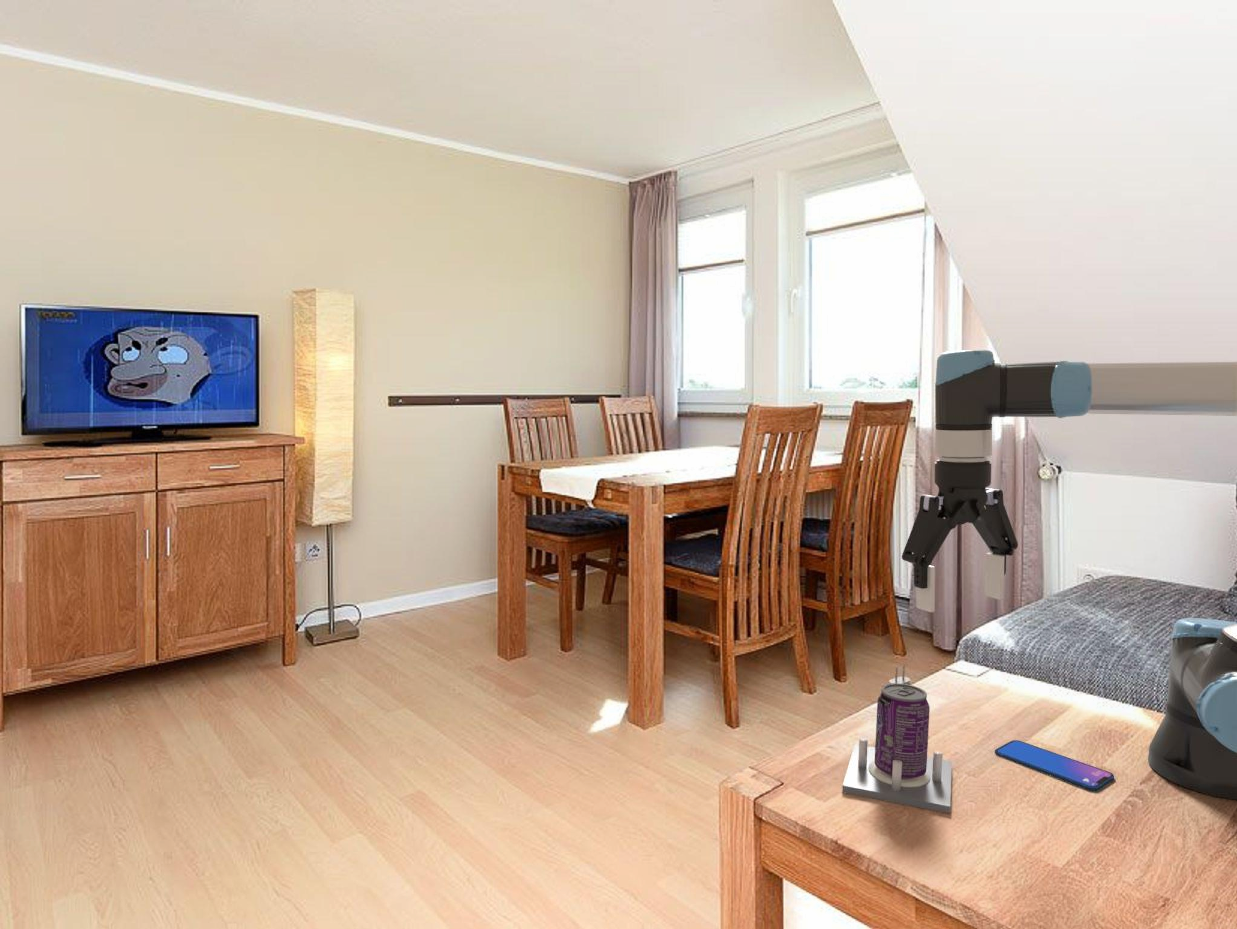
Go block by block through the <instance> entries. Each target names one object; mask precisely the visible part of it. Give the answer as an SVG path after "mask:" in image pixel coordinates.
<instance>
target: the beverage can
mask: <svg viewBox="0 0 1237 929" xmlns="http://www.w3.org/2000/svg"><path fill="white" fill-rule="evenodd" d="M880 692H881V693H880V694H879V696H878V697H877V698H878V699H877V704H876V707H877V708H876V723H875V724H876V725H875V726H876V728H875V742H874V743H875V746H874V747H875V765H876V767H877V768H878V769H880V770H881V771H883V772H884V773H886V774H887V775H889V776H892V770H893V760H900V761H902V774H901V779H912V778H916V777H920V776H922V775H924V774H925V773H926V767H927V757H928V745H929V728H930V727H929V724H930V723H929V722H930V704H929V702H928V699H927V698H928V697H927V696H928V694H927V692H926V691H925V690H924V689H923V688H920V687H918V686H915V685H912V684H910V685H908V684H900V683H892V684H889V683H887V684H884V685H882V686H881V691H880Z"/></svg>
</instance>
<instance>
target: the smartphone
mask: <svg viewBox="0 0 1237 929" xmlns="http://www.w3.org/2000/svg"><path fill="white" fill-rule="evenodd" d="M994 754H995V755H996V756H998V757H1001V758H1003V759H1006V760H1009V761H1011V762H1014V763H1016V764H1019V765H1021V766H1024V767H1026V768H1028V769H1032V770H1034V769H1035V770H1034V771H1037V772H1039V771H1040V773H1042V772H1043V773H1042V774H1044V773H1045V775H1047V774H1048V775H1047V776H1050V775H1051V776H1050V777H1052V778H1055V779H1057V778H1058V780H1060V781H1062V782H1063V781H1064V782H1066V783H1068V784H1071V785H1072V786H1075V787H1078V788H1081V789H1083V790H1086V791H1090V792H1099V791H1101V790H1102V789H1103V788H1105V787H1106V786H1107V785H1109V784H1110V783H1112V782H1113V781H1115V774H1114V773H1112V772H1110V771H1108V770H1105V769H1102V768H1099V767H1097V766H1094V765H1091V764H1088V763H1084V762H1083V761H1079V760H1076V759H1074V758H1071V757H1068V756H1065V755H1062V754H1059V753H1056V752H1053V751H1050V750H1047V749H1044V748H1042V747H1039V746H1036V745H1034V744H1031V743H1027V742H1025V741H1021V740H1019V739H1018V740H1017V739H1013V740H1010V741H1008V742H1006V743H1005V744H1003V745H1000V746H999V747H997V748H995V749H994Z"/></svg>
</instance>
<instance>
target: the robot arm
mask: <svg viewBox="0 0 1237 929" xmlns="http://www.w3.org/2000/svg"><path fill="white" fill-rule="evenodd" d="M935 371H936V372H935V383H934V387H935V388H934V392H935V393H934V394H935V396H934V397H935V400H934V401H935V404H934V406H935V407H934V408H935V413H934V414H935V419H934V420H935V421H934V423H935V429H934V430H935V434H934V435H935V436H934V442H935V443H934V446H935V447H934V455H935V456H936V457H937V458H939V459H937V460H936V461H935V462H934V484H935V485H936V486H937V487H938V493H937V495H936V496H935V495H929V494H921V496H920V499H919V508H918V512H917V513H916V514H917V515H916V517H915V520H914V523H913V524H912V528H911V531H910V533H909V536H908V538H907V541H906V544H905V547H904V549H903V552H902V554H901V559H902V560H903V561H905V562H908V563H910V564H913V565H912V566H913V586H914V587H915V589H916V590H915V591H916V596H915V597H916V598H915V600H916V603H915V604H916V605H915V606H916V607H915V608H917V609H919V610H922V611H925V612H929V613H935V610H936V609H935V606H936V604H935V603H936V601H935V599H936V596H935V595H936V594H935V593H936V591H935V590H936V588H935V587H936V586H935V585H936V583H935V582H936V566H934V565H931V564H932V562H933V560H934V559H935V557H936V556H937V554H938V552H939V550H940V548H942V545H943V544H944V542H945V540H946V539H947V537H948V535H949V534H950V532H951V530H953V529H955V528H956V527H957V526H958V525H964V524H966V523H969V524H972V525H973V527H974V528H975V530H976V531H977V533H978V534H979V536H980V537H981V539H982V541H983V542H984V543H985V544H986V546H987V548H988V550H989V551H990V552H985V575H984V576H985V579H984V580H985V582H984V596H985V597H989V598H992V599H996V600H999V601H1000V600H1004V597H1005V595H1004V594H1005V593H1004V592H1005V590H1004V589H1005V575H1006V573H1007V556H1008V557H1009V556H1010V557H1011V556H1013V555H1014V551H1015V550H1016V549H1017V548H1018V545H1019V544H1018V540H1017V538H1016V534H1015V532H1014V530H1013V527H1012V524H1011V521H1010V517H1009V516H1008V513H1007V510H1006V507H1005V502H1004V492H1003V490H1002V489H998V488H992V487H991V488H990V486H991V484H992V462H990V460H988V458H990V457H991V456H993V418H1006V417H1008V418H1009V417H1011V418H1058V419H1062V418H1067V417H1068V418H1069V417H1083V416H1086V415H1087V414H1088V415H1089V414H1090V415H1143V416H1144V415H1145V416H1146V415H1151V416H1155V415H1157V416H1163V415H1164V416H1207V417H1209V416H1213V417H1217V416H1218V417H1219V416H1220V417H1222V416H1223V417H1224V416H1225V417H1237V361H1194V362H1193V361H1187V362H1186V361H1183V362H1181V361H1180V362H1179V361H1178V362H1177V361H1176V362H1174V361H1173V362H1171V361H1170V362H1167V361H1166V362H1095V363H1094V362H1092V363H1091V362H1089V363H1087V362H1085V361H1067V360H1060V361H1045V362H1044V361H1043V362H1042V361H1041V362H1039V361H1038V362H1025V363H1024V362H1023V363H1021V362H1020V363H999V362H997V363H995V359H994V354H993V352H992V351H991V350H988V349H979V350H977V349H976V350H952V351H951V350H950V351H944V352H942V353H941V354H940V355H939V356H938V357H937V359H936V370H935ZM988 487H989V488H988ZM1170 641H1171V648H1170V660H1169V672H1168V683H1167V684H1168V685H1167V696H1166V697H1167V698H1166V709H1165V710H1166V711H1165V715H1164V717H1163V719H1162V721H1161V722H1160V725H1159V727H1158V728H1157V730H1156V732H1155V733H1154V736H1153V738H1152V740H1151V741H1150V743H1149V746H1148V756H1147V762H1148V764H1149V766H1150V767H1151V769H1152V770H1154V771H1155V772H1156V773H1157V774H1159V775H1160V776H1161V777H1163V778H1165V779H1167V780H1169V781H1170V782H1172V783H1175V784H1177V785H1180V786H1182V787H1184V788H1187V789H1189V790H1192V791H1195V792H1199V793H1201V794H1204V795H1205V794H1206V795H1210V796H1213V797H1217V798H1218V797H1219V798H1223V799H1230V800H1237V621H1236V622H1235V621H1229V620H1223V619H1222V620H1221V619H1214V618H1213V619H1212V618H1211V619H1210V618H1200V617H1198V618H1197V617H1185V618H1180V619H1179V620H1178V619H1177V621H1176V622H1175V623H1174V625H1173V630H1172V635H1171V636H1170Z"/></svg>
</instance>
